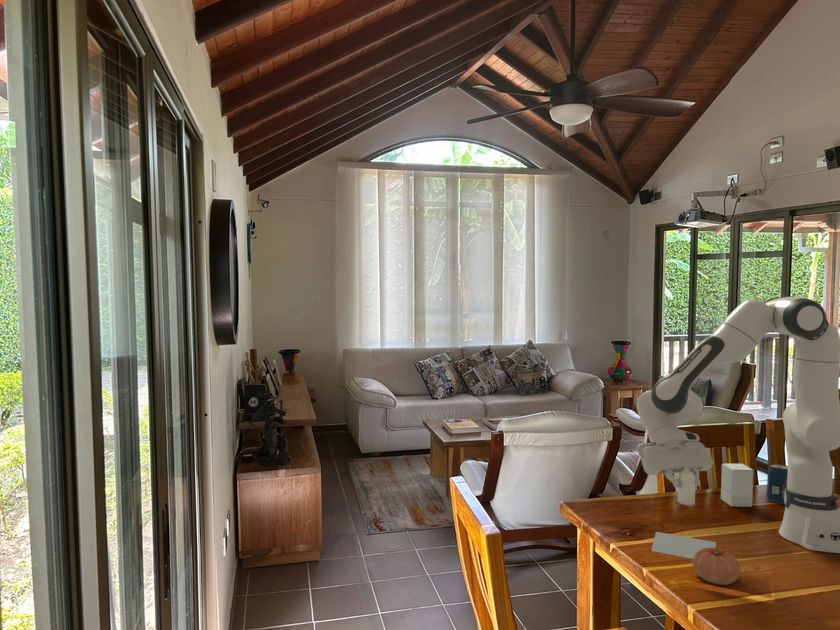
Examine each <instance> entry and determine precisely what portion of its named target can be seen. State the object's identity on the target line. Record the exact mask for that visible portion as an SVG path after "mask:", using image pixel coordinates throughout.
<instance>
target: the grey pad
mask: <svg viewBox="0 0 840 630" xmlns="http://www.w3.org/2000/svg"><path fill="white" fill-rule="evenodd" d="M703 548H717V543H716V542H715V541H710V540H705V539H701V538H700V539H699V538H693V537H687V536H681V535H676V534H671V533H664V532H659V531H655V533H654V539H653V542H652V546H651V551H650V552H655V553H660V554H665V555H670V556H675V557H676V556H677V557H680V558H686V559H690V560H693V558H694V556H695V554H696V553H697V552H698V551H700V550H701V549H703Z"/></svg>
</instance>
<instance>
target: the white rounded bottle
mask: <svg viewBox="0 0 840 630" xmlns="http://www.w3.org/2000/svg"><path fill="white" fill-rule="evenodd" d="M677 479H680V482H681V483H682V486H680V487H677V503H679V504H681V505H686V506H693V505H696V497H695V496H696V486H695V476H694V474H693V473H692V472H691V471H689V467H687V466H685V467H684V470H683V471H681V472H680V473H678V475H677Z"/></svg>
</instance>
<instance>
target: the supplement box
mask: <svg viewBox="0 0 840 630" xmlns="http://www.w3.org/2000/svg"><path fill="white" fill-rule="evenodd" d="M720 486H721V487H720V499H721V500H722V501H723V502H724V503H726V504H727V505H729V506H730V507H743V508H744V507H753V495H754V493H753V491H754V490H753V489H754V469H752V468H751V467H749V466H747V465H746V464H744V463H722V464H721V485H720Z"/></svg>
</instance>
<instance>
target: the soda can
mask: <svg viewBox="0 0 840 630" xmlns="http://www.w3.org/2000/svg"><path fill="white" fill-rule="evenodd" d="M787 477H788V465H786V464H782V463H770V464H769V467H768V468H767V478H766V479H767V482H766V484H767V485H766V496H767V498H768V500H769V501H770V502H773V503H777V504H785V503H784V495H785V487H786V486H787Z"/></svg>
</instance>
